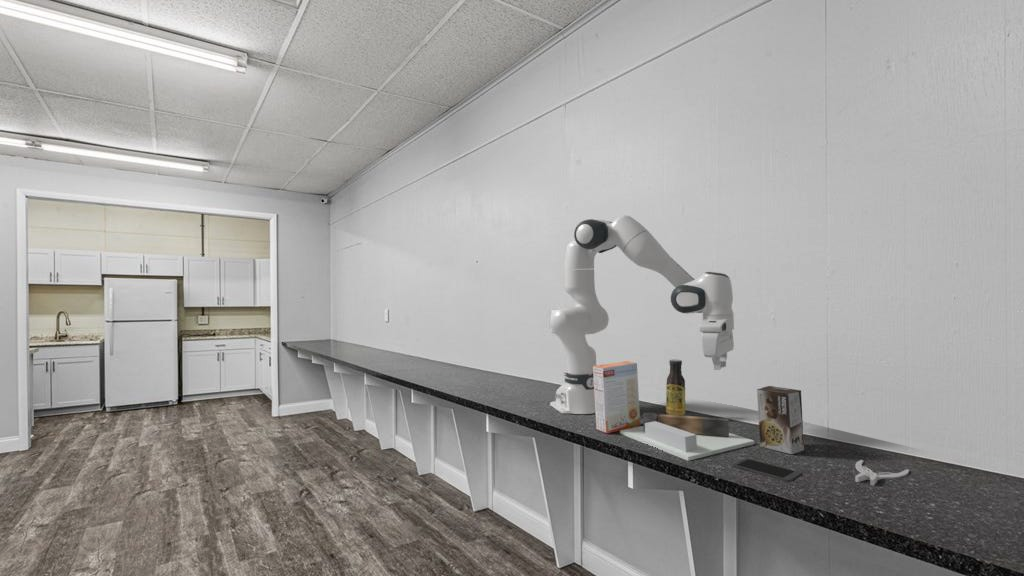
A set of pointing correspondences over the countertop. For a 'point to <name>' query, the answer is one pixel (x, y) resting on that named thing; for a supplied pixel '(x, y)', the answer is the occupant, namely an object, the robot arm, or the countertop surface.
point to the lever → (691, 423)
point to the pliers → (875, 474)
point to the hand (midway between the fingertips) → (720, 368)
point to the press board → (701, 440)
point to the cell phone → (767, 469)
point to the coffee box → (780, 419)
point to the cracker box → (616, 396)
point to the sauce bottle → (675, 389)
